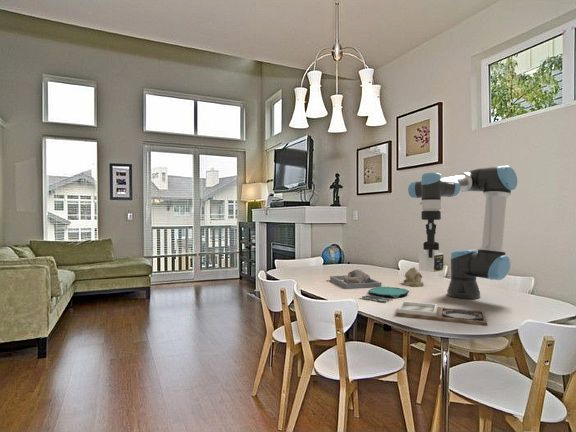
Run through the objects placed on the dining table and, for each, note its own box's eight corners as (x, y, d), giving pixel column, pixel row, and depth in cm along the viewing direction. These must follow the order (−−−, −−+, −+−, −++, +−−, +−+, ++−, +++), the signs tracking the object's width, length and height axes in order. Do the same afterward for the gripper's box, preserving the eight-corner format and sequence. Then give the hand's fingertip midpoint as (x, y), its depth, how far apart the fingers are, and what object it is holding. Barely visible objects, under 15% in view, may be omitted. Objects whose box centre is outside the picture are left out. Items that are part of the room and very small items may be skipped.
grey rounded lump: (362, 298, 220) (364, 281, 232) (371, 290, 215) (372, 272, 227) (338, 285, 219) (341, 268, 231) (347, 276, 213) (349, 259, 226)
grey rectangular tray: (361, 278, 241) (361, 274, 241) (381, 286, 214) (381, 282, 214) (330, 280, 236) (330, 276, 236) (346, 288, 209) (346, 284, 209)
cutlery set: (415, 293, 197) (414, 289, 197) (389, 305, 174) (389, 300, 174) (380, 289, 210) (380, 284, 210) (351, 299, 187) (351, 294, 187)
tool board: (484, 313, 157) (484, 307, 157) (487, 325, 140) (487, 318, 140) (402, 305, 170) (402, 300, 170) (396, 315, 154) (396, 309, 154)
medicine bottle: (434, 272, 151) (434, 242, 151) (418, 270, 157) (418, 241, 157) (443, 270, 156) (443, 241, 156) (428, 268, 161) (428, 240, 161)
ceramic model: (399, 282, 227) (399, 266, 227) (416, 282, 229) (416, 265, 229) (411, 287, 213) (411, 269, 213) (429, 286, 215) (429, 269, 215)
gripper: (422, 210, 168) (422, 260, 168) (419, 210, 147) (419, 267, 148) (441, 210, 165) (441, 261, 165) (440, 210, 145) (440, 268, 145)
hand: (431, 264), depth 156 cm, fingers closed on medicine bottle, 9 cm apart
